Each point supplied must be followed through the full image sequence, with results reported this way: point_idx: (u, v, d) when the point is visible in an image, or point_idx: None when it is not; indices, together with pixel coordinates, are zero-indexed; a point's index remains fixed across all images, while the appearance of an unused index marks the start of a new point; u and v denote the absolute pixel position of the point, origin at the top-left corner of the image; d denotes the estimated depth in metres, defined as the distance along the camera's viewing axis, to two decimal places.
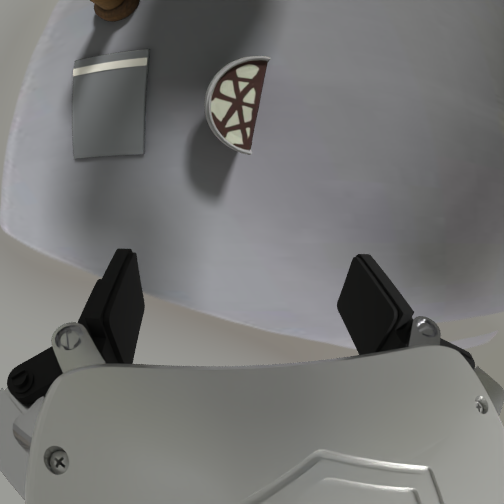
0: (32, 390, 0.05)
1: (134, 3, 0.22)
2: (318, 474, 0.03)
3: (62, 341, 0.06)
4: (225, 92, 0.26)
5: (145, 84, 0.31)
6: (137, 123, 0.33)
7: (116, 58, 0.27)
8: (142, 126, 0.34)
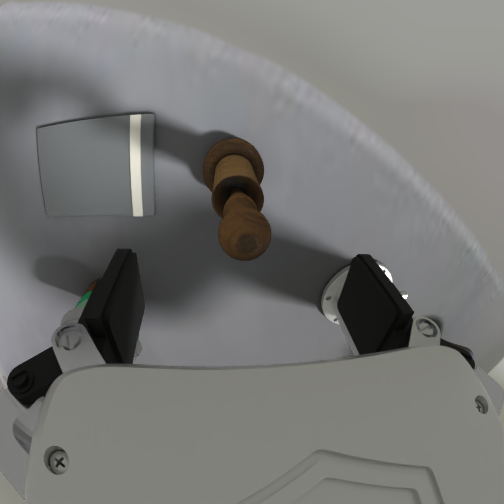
0: (32, 390, 0.05)
1: None
2: (318, 474, 0.03)
3: (62, 341, 0.06)
4: None
5: None
6: (72, 209, 0.29)
7: (144, 177, 0.28)
8: (70, 214, 0.29)
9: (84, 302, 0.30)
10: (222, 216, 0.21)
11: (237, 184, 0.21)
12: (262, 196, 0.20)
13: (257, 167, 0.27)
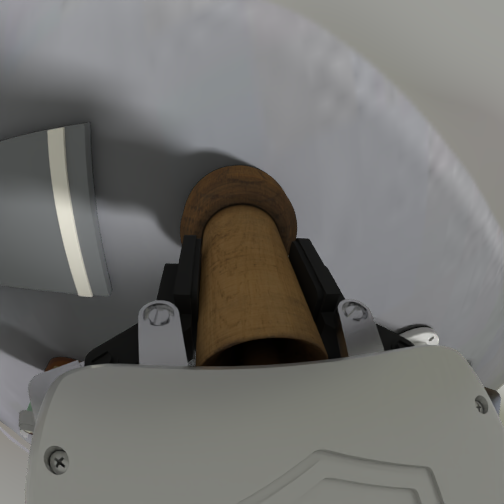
0: None
1: None
2: (318, 474, 0.03)
3: (151, 318, 0.07)
4: None
5: None
6: (1, 277, 0.16)
7: (83, 238, 0.15)
8: (1, 284, 0.16)
9: None
10: None
11: None
12: None
13: (287, 229, 0.14)
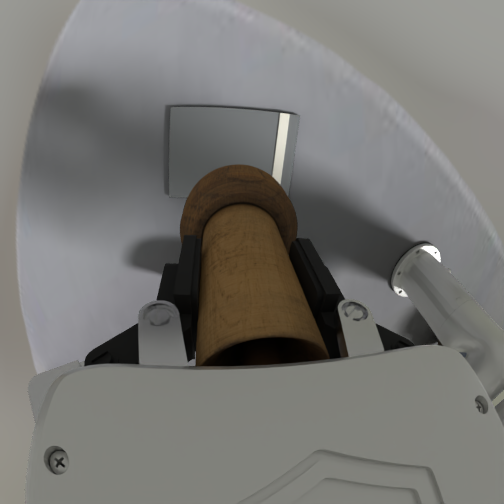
0: None
1: None
2: (318, 474, 0.03)
3: (151, 318, 0.07)
4: None
5: None
6: None
7: (285, 167, 0.35)
8: None
9: None
10: None
11: None
12: None
13: (287, 228, 0.14)
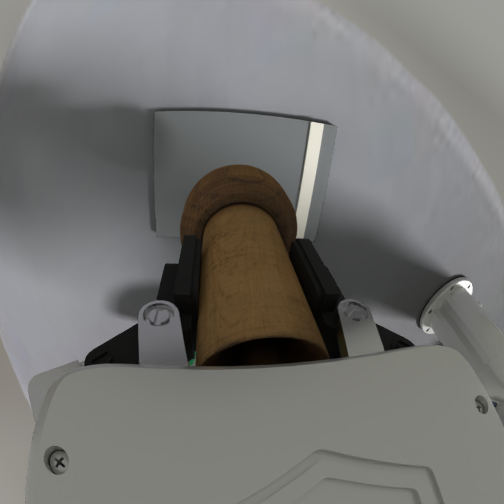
0: None
1: None
2: (318, 474, 0.03)
3: (151, 318, 0.07)
4: None
5: None
6: None
7: (314, 197, 0.26)
8: None
9: None
10: None
11: None
12: None
13: (287, 228, 0.14)
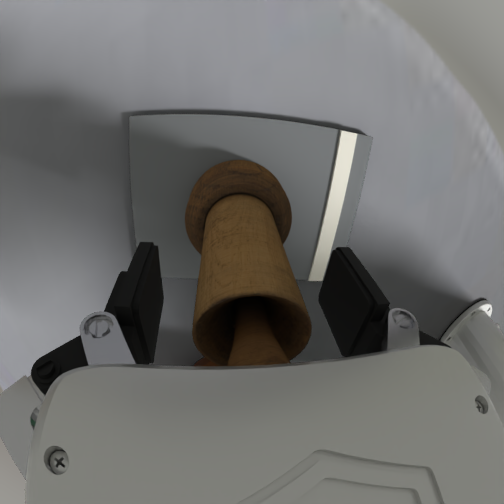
0: None
1: None
2: (318, 474, 0.03)
3: (91, 330, 0.06)
4: None
5: None
6: (199, 269, 0.20)
7: (340, 228, 0.20)
8: (192, 277, 0.21)
9: None
10: (219, 362, 0.09)
11: None
12: (309, 329, 0.09)
13: (282, 217, 0.16)
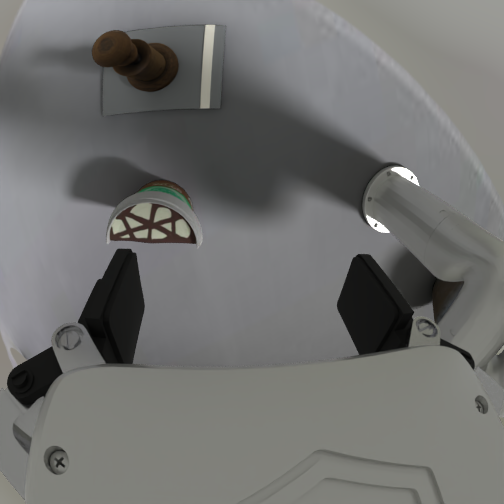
0: (32, 390, 0.05)
1: (141, 90, 0.27)
2: (318, 474, 0.03)
3: (62, 341, 0.06)
4: (158, 212, 0.29)
5: (177, 108, 0.31)
6: (134, 105, 0.29)
7: (214, 74, 0.29)
8: (131, 111, 0.30)
9: None
10: (119, 72, 0.18)
11: None
12: (150, 51, 0.18)
13: (169, 58, 0.25)
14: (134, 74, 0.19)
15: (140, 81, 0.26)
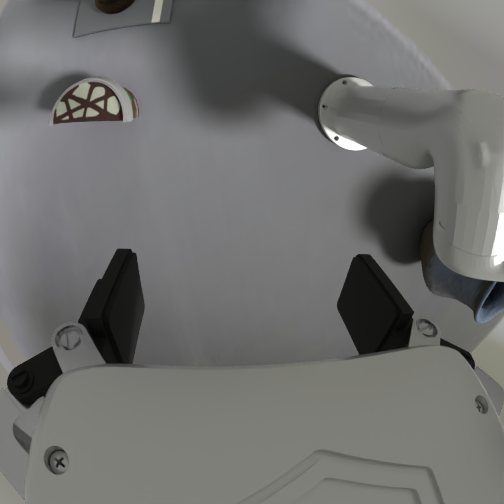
0: (32, 390, 0.05)
1: (105, 11, 0.22)
2: (318, 474, 0.03)
3: (62, 341, 0.06)
4: (94, 91, 0.25)
5: (133, 25, 0.26)
6: (99, 26, 0.25)
7: None
8: (96, 30, 0.25)
9: None
10: None
11: None
12: None
13: None
14: None
15: (103, 3, 0.21)
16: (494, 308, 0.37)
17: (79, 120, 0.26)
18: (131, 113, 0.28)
